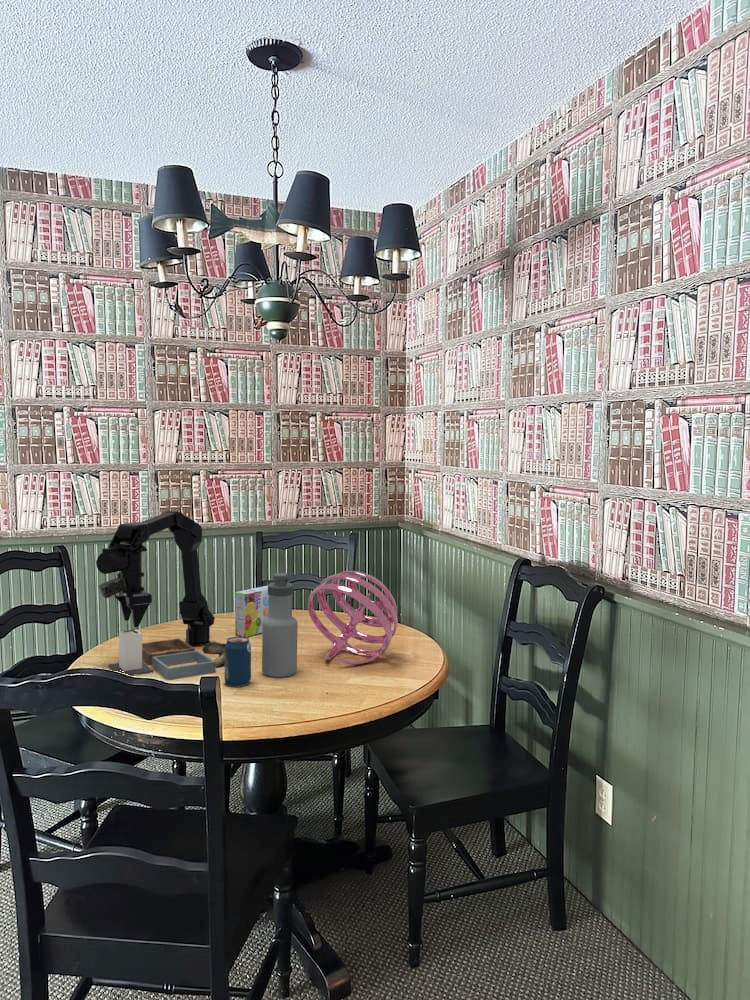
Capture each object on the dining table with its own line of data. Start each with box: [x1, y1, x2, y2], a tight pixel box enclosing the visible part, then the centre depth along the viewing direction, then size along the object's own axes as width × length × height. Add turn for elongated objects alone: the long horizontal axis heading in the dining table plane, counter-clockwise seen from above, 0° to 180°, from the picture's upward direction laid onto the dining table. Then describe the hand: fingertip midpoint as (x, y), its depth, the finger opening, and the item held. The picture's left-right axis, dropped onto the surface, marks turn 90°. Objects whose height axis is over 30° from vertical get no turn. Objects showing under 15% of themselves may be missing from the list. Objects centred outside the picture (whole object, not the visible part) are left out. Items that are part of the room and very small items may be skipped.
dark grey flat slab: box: [107, 661, 154, 676], centre depth 206 cm, size 9×12×1 cm
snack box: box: [234, 585, 269, 638], centre depth 253 cm, size 21×6×15 cm, turn 144°
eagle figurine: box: [201, 641, 226, 668], centre depth 213 cm, size 8×7×9 cm
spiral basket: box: [307, 570, 398, 666], centre depth 219 cm, size 28×28×27 cm
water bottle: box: [261, 572, 299, 678], centre depth 205 cm, size 10×10×28 cm
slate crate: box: [151, 649, 217, 681], centre depth 206 cm, size 14×14×3 cm
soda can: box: [224, 636, 252, 688], centre depth 195 cm, size 7×7×12 cm
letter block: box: [118, 629, 143, 671], centre depth 205 cm, size 5×5×10 cm
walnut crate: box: [142, 638, 196, 666], centre depth 219 cm, size 14×14×3 cm
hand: (131, 623), depth 206 cm, fingers open, 9 cm apart
